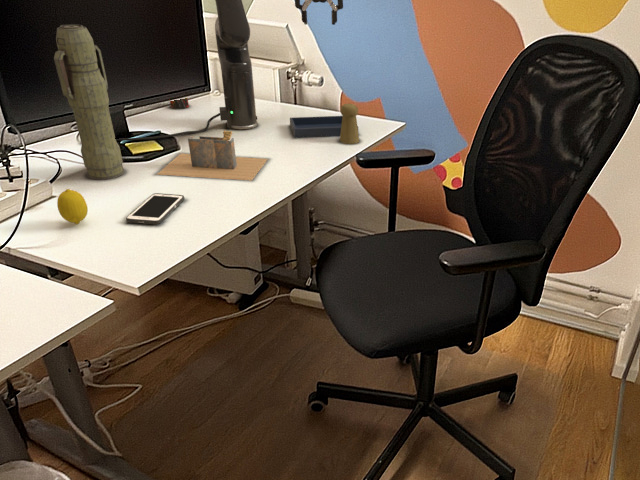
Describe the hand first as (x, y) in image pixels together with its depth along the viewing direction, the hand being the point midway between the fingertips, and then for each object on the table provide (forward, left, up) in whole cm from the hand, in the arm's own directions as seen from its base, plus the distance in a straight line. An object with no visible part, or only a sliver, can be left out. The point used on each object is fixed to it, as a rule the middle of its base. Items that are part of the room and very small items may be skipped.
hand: (319, 24), depth 183 cm
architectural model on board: (-35, -36, -30) cm, 59 cm away
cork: (+5, -20, -30) cm, 37 cm away
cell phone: (-48, -63, -30) cm, 85 cm away
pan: (-1, -8, -30) cm, 31 cm away
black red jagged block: (-46, +25, -30) cm, 60 cm away
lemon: (-64, -67, -30) cm, 97 cm away
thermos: (-62, -37, -30) cm, 78 cm away
